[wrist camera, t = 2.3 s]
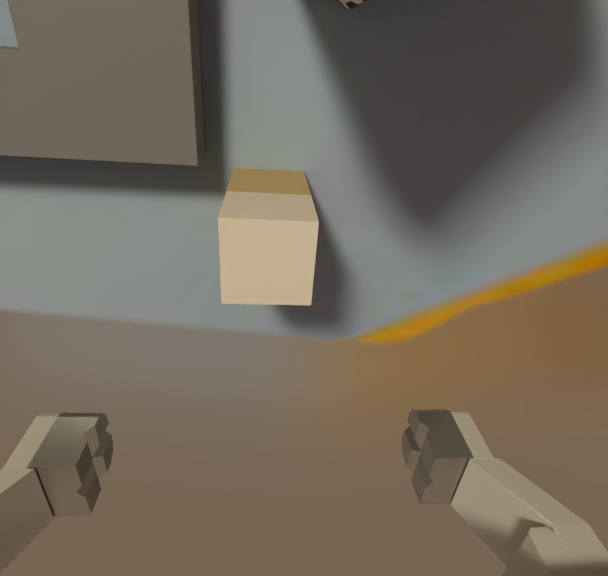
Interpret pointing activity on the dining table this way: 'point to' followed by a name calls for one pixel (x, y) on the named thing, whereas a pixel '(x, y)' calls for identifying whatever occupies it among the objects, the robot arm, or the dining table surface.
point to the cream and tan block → (267, 238)
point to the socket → (103, 81)
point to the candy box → (351, 3)
